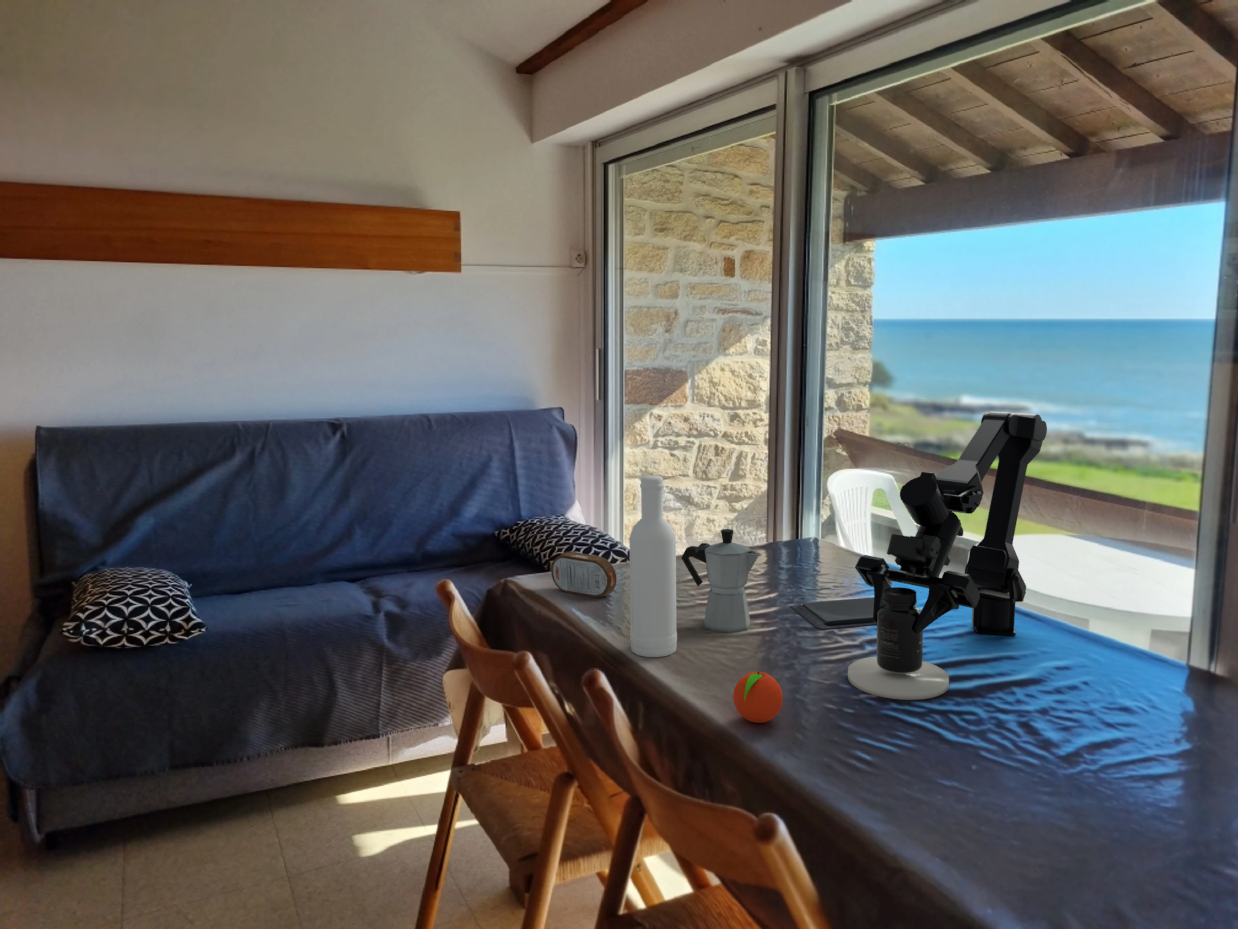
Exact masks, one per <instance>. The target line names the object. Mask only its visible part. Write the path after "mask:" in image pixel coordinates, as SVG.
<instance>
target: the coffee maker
mask: <svg viewBox="0 0 1238 929" xmlns="http://www.w3.org/2000/svg"><path fill="white" fill-rule="evenodd" d="M720 533H721V541H722V542H718V543H714V544H710V543H708V542H702V543H700V544H699V545H697V546H695V545H691V546H687V547H686V548H685V550H684V552H683V554H682V556H681V561H682V562H683V564H684V565H685V567H686V569H687V570H688V572H689V574H690V575H691V577H692V579H693V581H694V583H695V584H696V586H697V587H700V585H702V583H703V580H702V578H701V576H700V575H699V573H698V572H697V570H696V568H695V567H694V565H693V563H692V561H691V559H690V557H692V558H694V559H696V560H698V561H700V562H703V563H705V569H706V574H707V576H706V577H707V582H708V583H709V585H710V589H709V590H708V597H707V601H706V602H707V603H706V608H705V615H704V621H703V627H705V628H706V629H708V630H711V631H712V632H718V633H727V634H728V633H730V634H732V633H738V632H744V631H747V630H748V629H749V628H750V626H751V618H750V612H749V604H748V598H747V594H746V593H747V591H746V589H745V586H746V585H747V584H748V578H749V573H750V571H751V570H752V568H753V567H754V565H755V562H756V561H757V559H758V558H759V557H760V556H762V553H759V552H757V551H755V550H752V549H751V548H750V547H749V546H748V545H745V544H741V543H736V542H733V536H734V530H733V529H731V528H730V529H729V528H722V529H720Z"/></svg>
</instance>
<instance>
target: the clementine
mask: <svg viewBox="0 0 1238 929" xmlns="http://www.w3.org/2000/svg"><path fill="white" fill-rule="evenodd" d="M734 686H735V687H734V689H733V694H732V695H733V696H732V698H733V705H734V707H735V708H736V711H737V712H738V713H739V716H741V717H742V718H744V719H745V720H747V721H748V722H751V723H758V724H760V723H763V724H764V723H767V722H769V721H772V719H774V718H776V717H777V715H778V714H779V713H780V711H781V709H782V707H783V702H784V695H783V690H782V687H781V685H780V683H779V682H778V681H777V680H776V678H774V677H773V676H771V675H770V674H769V673H766V672H762V671H752V672H750V673H747V674H745V675H744V676H742V677H741V678H740V679H739V680H738V681H737V683H736V684H735V685H734Z"/></svg>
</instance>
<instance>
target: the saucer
mask: <svg viewBox="0 0 1238 929" xmlns="http://www.w3.org/2000/svg"><path fill="white" fill-rule="evenodd" d="M847 679H848V681H849V683H850V684H851V685H852V687H855V688H856V689H858V690H859V691H861V692H865V693H867V694H869V695H872V696H876V697H881V698H887V699H892V700H902V701H903V700H905V701H913V700H914V701H915V700H927V699H932V698H935V697H939V696H941V695H943V694H945V693H946V692H947V691H948V689H949V687H950V686H949V685H950V684H949V683H950V677H949V674H948V673H947V672H946V671H945V669H943V668H941V667H939V666H937V665H935V664H933V663H930V662H928V661H924V660H922V667H921V668H920V669H919V670H918V671H915V672H910V673H897V672H891V671H887V670H884V669H882V668H880V667H879V665H878V664H877V656H870V657H869V656H868V657H866V658H861V659H858V660H856V661H854V662H852V663H851V664H849V666H848V667H847Z"/></svg>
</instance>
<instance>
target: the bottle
mask: <svg viewBox="0 0 1238 929" xmlns="http://www.w3.org/2000/svg"><path fill="white" fill-rule="evenodd" d="M639 485H640V491H641V494H640V496H641V499H640V500H641V505H640V506H641V518H640V519H639V520H638V521H637V522H636V523H635V524H634V525H633V527H632V529H631V533H630V536H629V587H630V588H629V592H630V594H629V595H630V598H629V600H630V601H629V603H630V606H629V607H630V632H629V636H630V637H629V639H630V649H631V652H632V653H633V654H635V655H637V656H640V657H644V658H645V657H646V658H662V657H666V656H671V655H672V654H674V653H675V652H676V651H677V642H678V632H677V546H676V544H677V539H676V534H675V531H674V529H673V526H672V525H671V524H670V523H669V522H668V521H667V520H666V519H665V517H664V486H665V485H664V478H663V477H662V476H661V475H653V474H651V475H644V476H642V477H640V484H639Z"/></svg>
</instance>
